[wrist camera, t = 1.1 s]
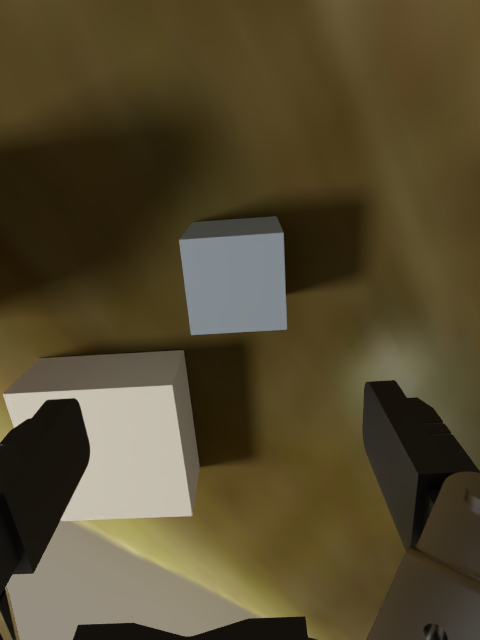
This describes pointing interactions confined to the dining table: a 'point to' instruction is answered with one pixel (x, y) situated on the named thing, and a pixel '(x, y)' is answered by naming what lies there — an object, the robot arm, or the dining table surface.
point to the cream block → (122, 430)
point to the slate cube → (234, 275)
